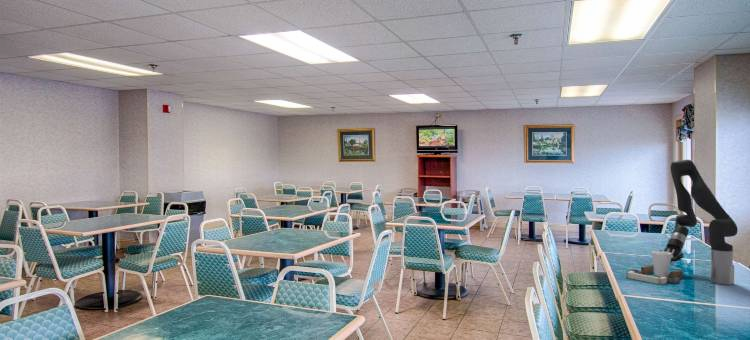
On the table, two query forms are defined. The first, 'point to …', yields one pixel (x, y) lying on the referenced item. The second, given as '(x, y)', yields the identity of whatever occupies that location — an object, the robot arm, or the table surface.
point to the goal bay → (646, 278)
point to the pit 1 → (637, 271)
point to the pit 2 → (673, 279)
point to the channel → (650, 269)
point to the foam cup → (661, 263)
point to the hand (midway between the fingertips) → (666, 265)
